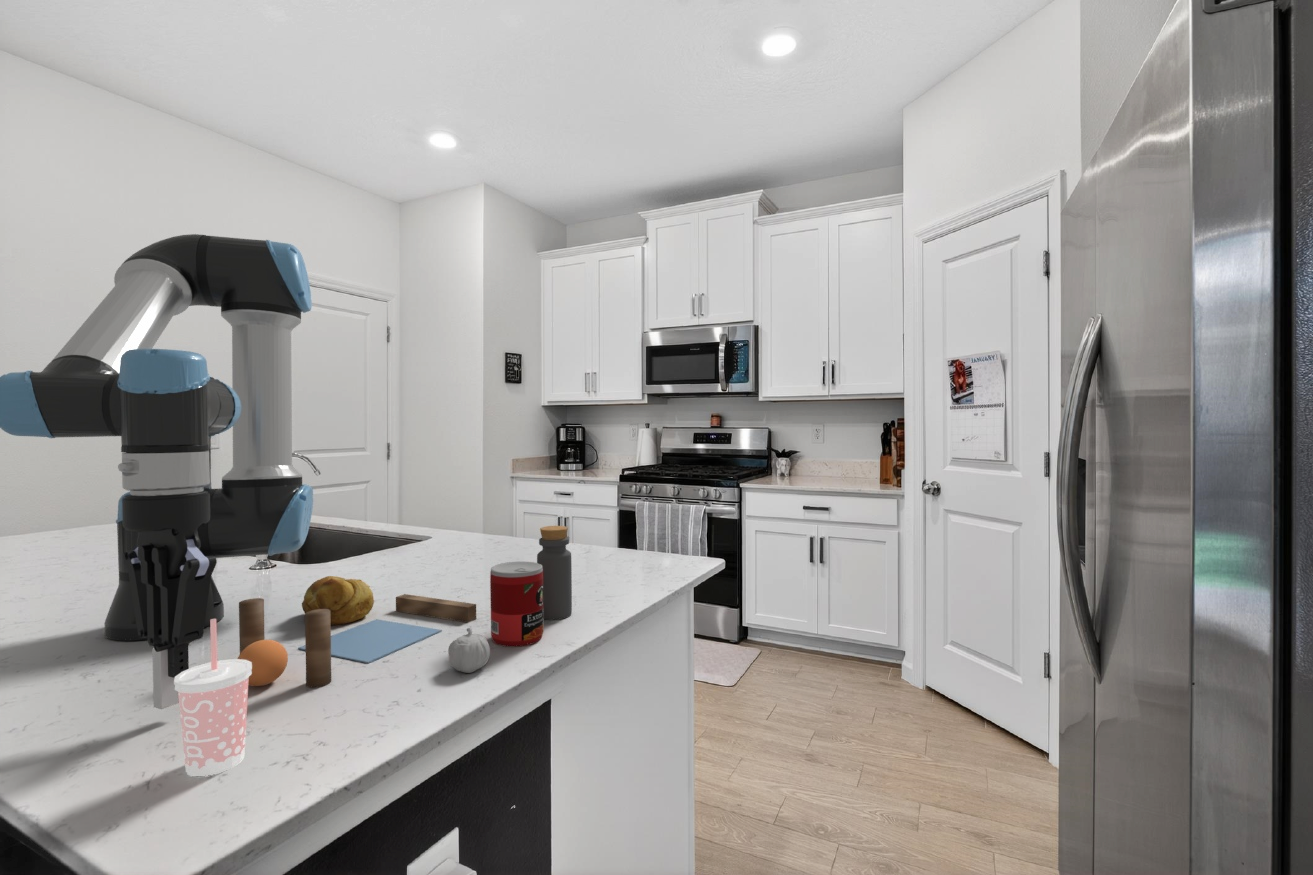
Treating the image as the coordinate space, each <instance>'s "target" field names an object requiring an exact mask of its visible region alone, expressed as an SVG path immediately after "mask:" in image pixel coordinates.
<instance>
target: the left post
mask: <svg viewBox="0 0 1313 875" xmlns="http://www.w3.org/2000/svg"><path fill="white" fill-rule="evenodd" d="M238 621H239V622H238V625H239V626H238V627H239V628H238V629H239V632H238V633H239V654H240V653H241V652H242V651H243V650H244V649H245V648H246V647H247V646H249V645H250V644H252V643H254V642H257V641H260V640H266V639H265V637H266V636H265V599H264V598H259V597H256V598H249V599H244V600H241V601H239V602H238Z"/></svg>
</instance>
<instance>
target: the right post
mask: <svg viewBox="0 0 1313 875" xmlns="http://www.w3.org/2000/svg"><path fill="white" fill-rule="evenodd" d="M304 625H305V626H304V629H305V630H304V634H305V639H304V640H305V643H304V644H305V646H306V651H305V687H307V688H311V689H312V688H314V689H315V688H321V687H325V686H327V685H329V684H330V683H331V682H332V656H331V636H332V635H331V634H332V631H331V629H332V627H331V626H332V625H331V618H330V610H329V609H317V610H312V611H309V612H307V613H305V612H304Z"/></svg>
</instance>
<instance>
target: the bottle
mask: <svg viewBox="0 0 1313 875" xmlns="http://www.w3.org/2000/svg"><path fill="white" fill-rule="evenodd" d="M568 529H569V527H567V526H564V525H547V526H542V527H540V529H539V530H540V536H541V537H540V538H539V539H538V544H539V545H540V546H541V547H542V549H541V551H538V553H537V554H536V563H538V564H541V565H542V568H543V620H547V621H548V620H549V621H551V620H562V619H566V618H568V617H570V616H571V615H572V613H573V612H572V611H573V608H572V607H573V599H572V598H573V596H572V594H573V592H572V591H573V590H572V588H573V586H572V583H573V581H572V552H571V551H569V550H568V549H567V545H569V543H570V538H569V536H567V535H568Z"/></svg>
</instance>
